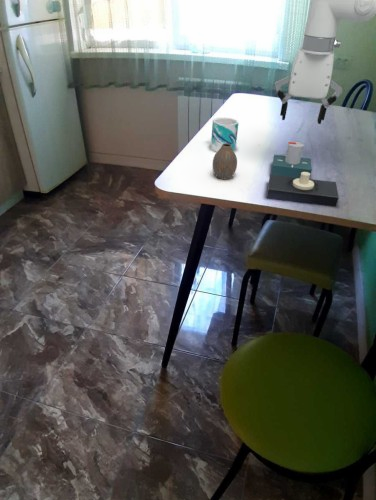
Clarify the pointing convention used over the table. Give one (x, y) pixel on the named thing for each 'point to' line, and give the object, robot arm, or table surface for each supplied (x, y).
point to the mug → (224, 133)
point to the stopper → (303, 182)
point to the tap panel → (290, 167)
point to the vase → (225, 162)
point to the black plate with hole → (302, 191)
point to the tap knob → (294, 152)
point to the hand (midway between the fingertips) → (301, 120)
